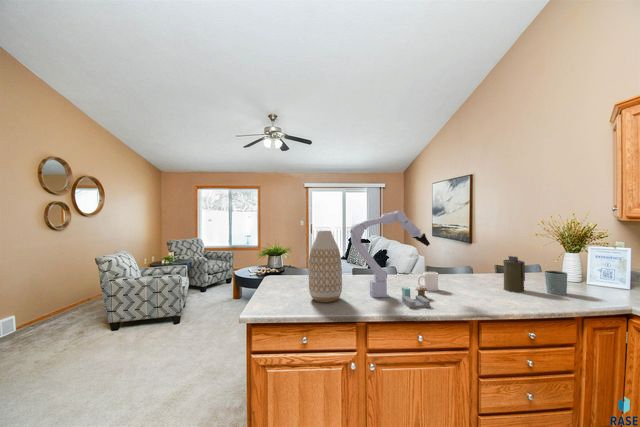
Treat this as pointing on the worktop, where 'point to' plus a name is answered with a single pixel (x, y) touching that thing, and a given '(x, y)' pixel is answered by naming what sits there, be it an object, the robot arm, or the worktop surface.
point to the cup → (429, 281)
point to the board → (416, 302)
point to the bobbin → (421, 291)
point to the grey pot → (556, 282)
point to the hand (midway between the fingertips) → (426, 243)
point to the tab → (406, 291)
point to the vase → (325, 268)
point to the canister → (514, 275)
